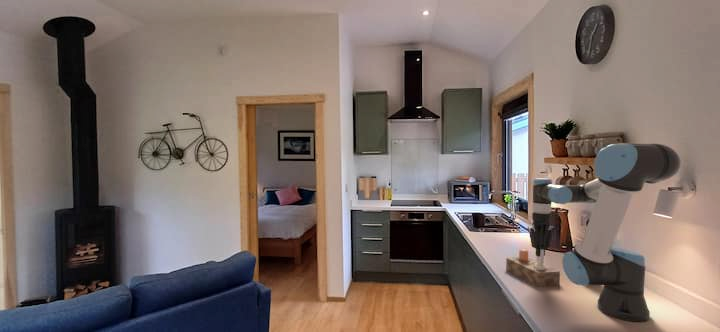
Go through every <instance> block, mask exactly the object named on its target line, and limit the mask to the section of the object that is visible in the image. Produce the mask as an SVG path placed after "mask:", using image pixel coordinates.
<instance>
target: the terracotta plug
mask: <svg viewBox="0 0 720 332" xmlns="http://www.w3.org/2000/svg"><path fill="white" fill-rule="evenodd" d="M518 252H519V253H518V257H519V261H521V262H528V258H529V250H528V249H522V248H521V249H519V250H518Z"/></svg>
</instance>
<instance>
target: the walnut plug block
mask: <svg viewBox="0 0 720 332" xmlns="http://www.w3.org/2000/svg"><path fill="white" fill-rule="evenodd" d="M535 263H537V260H534V259H532V258H530V257H528V262H521V261H519V256H517V257H515V256H513V257H506V261H505V264H506V266H505V269H506V271H508V272H510V273H511V274H514V275H516V276H518V277H519V278H521V279H523V280H525V281H527V282H529V283H531V284H532V285H535V286H536V287H549V286H559V285H560V282H561V279H560V278H561V274H560V273H561V271H560V270H558V269H555V268H553V267H551V266H549V265H546V264H545V270H538V269H536V268H535Z"/></svg>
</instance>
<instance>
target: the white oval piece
mask: <svg viewBox="0 0 720 332" xmlns="http://www.w3.org/2000/svg"><path fill="white" fill-rule="evenodd" d="M545 265H546V264H545V263H544V264H539V263H535V268H536V269H538V270H545Z"/></svg>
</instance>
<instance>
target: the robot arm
mask: <svg viewBox="0 0 720 332" xmlns="http://www.w3.org/2000/svg"><path fill="white" fill-rule="evenodd" d="M681 162H682V161H681V157H680V155H679V154H678V152H677V151H676V150H674V149H673V148H672V147H670V146H668V145H665V144H661V143H628V142H620V143H611V144H609V145H606V146H604V147H602V149H600V150H599V152H598V153H597V155H596V156H595V159H594V162H593V166H594V173H595V175H596V176H597V177H598V178H595V179H594V180H591V181H589V182H586V183H584V184H553V181H552V180H553V179H551V178H547V177H546V178H545V177H540V178H539V177H538V178H537V177H536V178H534V179H533V184H532V213H531V214H532V216H531V217H532V218H531V219H532V223H531V226H530V227H529V226H528V227H527V230H528V234H529V238H530V243H531V247H532V248H534V249H535V256H536V261H537V263H539V264H545V262H544V261H545V256H546V251H548V249H549V248H550V245H551V241H552V238H553V237H552V236H553V234H554V231H555V228H556V227H554V226H552V225H551V223H550V222H551V221H552V214H551V212H552V203H554V204H557V205H566V204H568V203H569V204H570V203H571V204H572V203H573V204H574V203H578V204H579V203H581V204H585V203H586V204H592V203H593V204H594V205H593V208H592V212H591V214H590V217H589V220H588V223H587V226H586V229H585V231H584V234H583V237H582V240H581V241H578V242H576V243H575V245H574V248H573V250H572V251H567V252H565V253H564V254H563V256H562V262H561V263H562V268H563V271H564V273H565V276H566V277H567V278H568V280H569V281H570V282H571V283H572V284H575V285H578V286H585V287H588V286H603V289H602V290H601V292H600V295H599V297H598V299H597V308H598V309H599V310H600V311H601V312H602V313H604V314H606V315H608V316H611V317H613V318H615V319H619V320H623V321H628V322H636V323H641V322H647V321H649V320H650V318H651V317H650V314H651V313H650V309H649V308H648V305H647V300H646V298H645V278H646V277H645V275H646V265H645V264H646V262H645V261H646V260H645V257H644V255H643V254H641V253H639V252H636V251H633V250H629V249H626V248H622V247H621V248H620V247H616V246H615V247H614V246H613V245H614V243H615V240H616V238H617V236H618V233H619V231H620V228H621V226H622V223H623V221H624V218H625V215H626V213H627V211H628V208H629V206H630V203H631V202H632V201H631V200H632V198H633V195H634V194H636V193H639V192H641V191H642V190H643V187H644V185H645V184H647V185H649V184H650V185H652V184H656V183H660V182H662V181H666V180H668V179H671V178H672V177H674V176H675V175H676V174H677V173H678V172H679V170H680V168H681Z"/></svg>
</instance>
